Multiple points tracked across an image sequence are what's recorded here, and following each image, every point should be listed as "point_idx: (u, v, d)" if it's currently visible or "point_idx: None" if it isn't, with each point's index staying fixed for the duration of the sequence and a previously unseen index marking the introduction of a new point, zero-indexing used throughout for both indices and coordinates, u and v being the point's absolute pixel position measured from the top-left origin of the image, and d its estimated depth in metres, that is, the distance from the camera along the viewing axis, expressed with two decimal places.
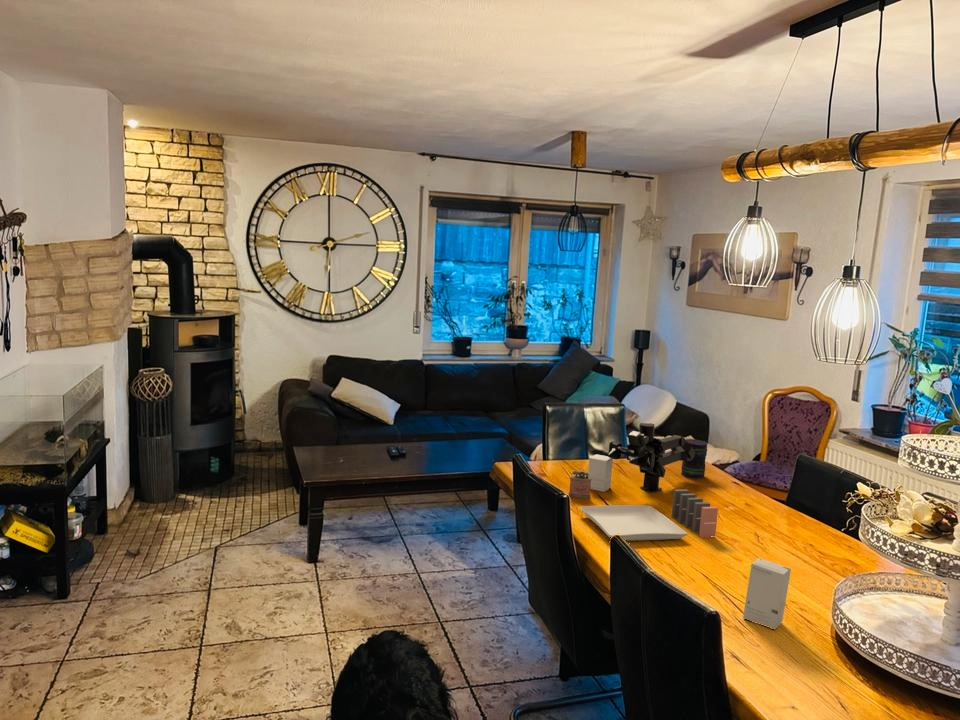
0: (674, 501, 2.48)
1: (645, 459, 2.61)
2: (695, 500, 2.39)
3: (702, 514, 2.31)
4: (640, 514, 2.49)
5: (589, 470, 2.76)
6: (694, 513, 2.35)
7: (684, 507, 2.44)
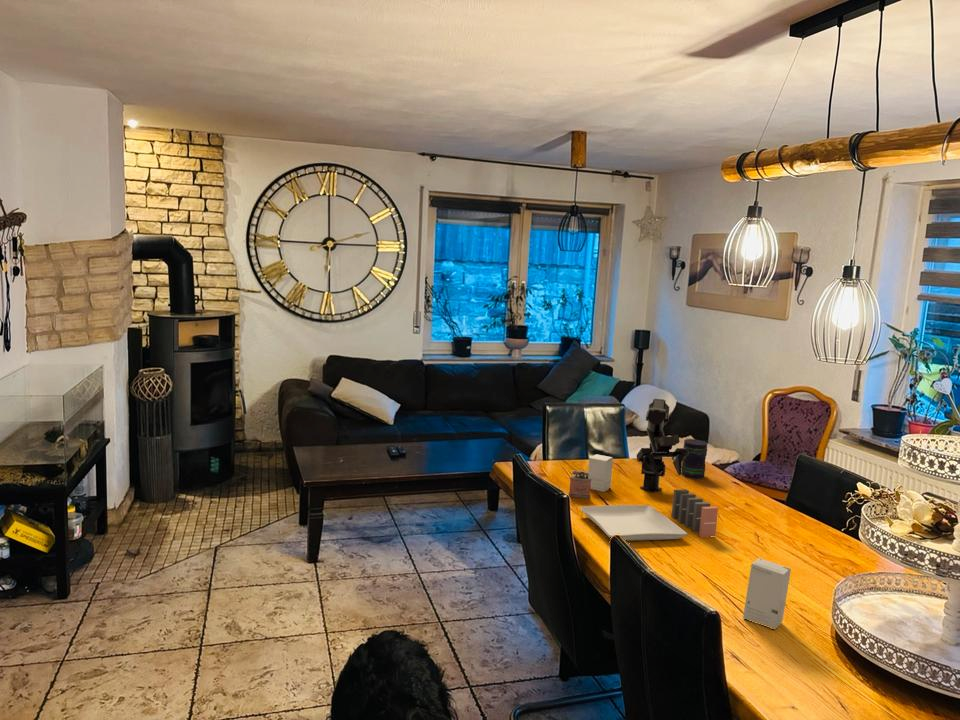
0: (674, 501, 2.48)
1: None
2: (695, 500, 2.39)
3: (702, 514, 2.31)
4: (640, 514, 2.49)
5: (589, 470, 2.76)
6: (694, 513, 2.35)
7: (684, 507, 2.44)
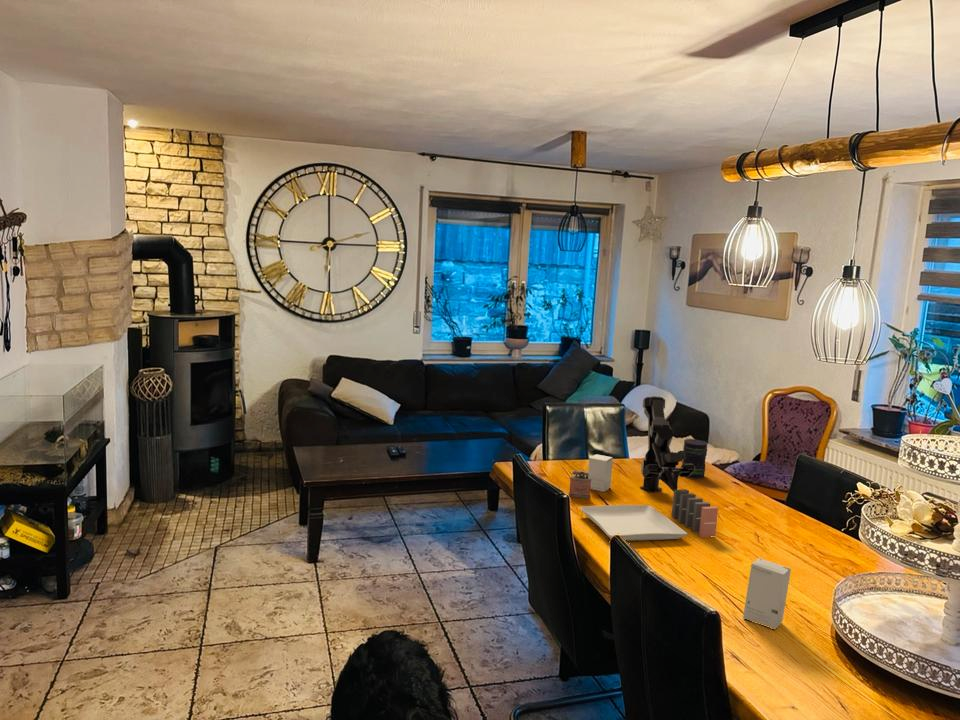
0: (674, 501, 2.48)
1: None
2: (695, 500, 2.39)
3: (702, 514, 2.31)
4: (640, 514, 2.49)
5: (589, 470, 2.76)
6: (694, 513, 2.35)
7: (684, 507, 2.44)
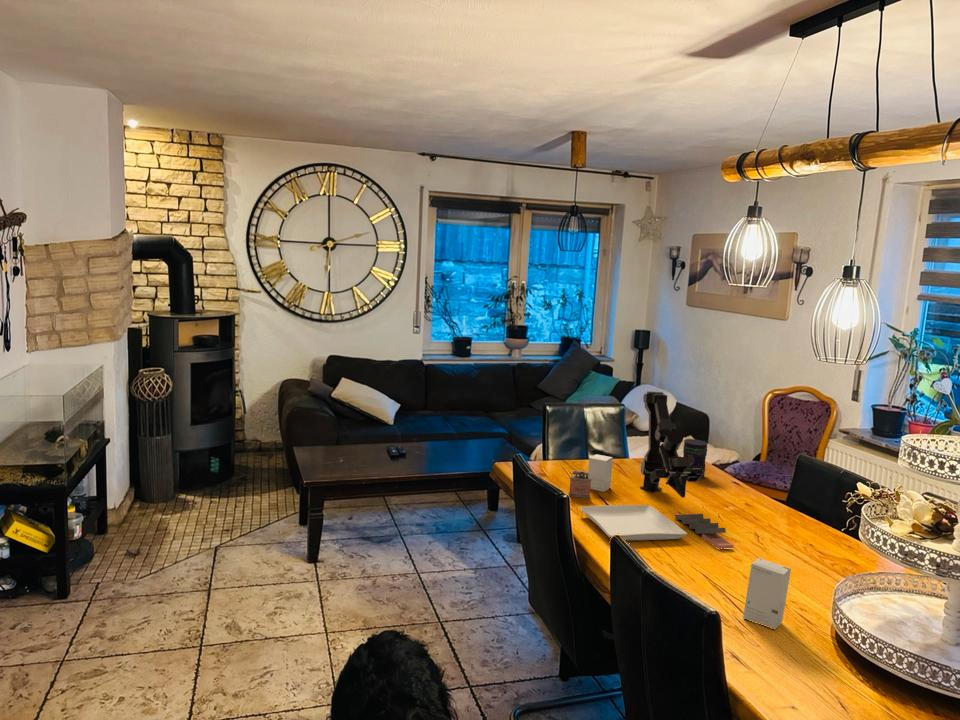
0: (684, 517, 2.42)
1: None
2: None
3: (714, 544, 2.23)
4: (640, 514, 2.49)
5: (589, 470, 2.76)
6: (705, 530, 2.29)
7: None
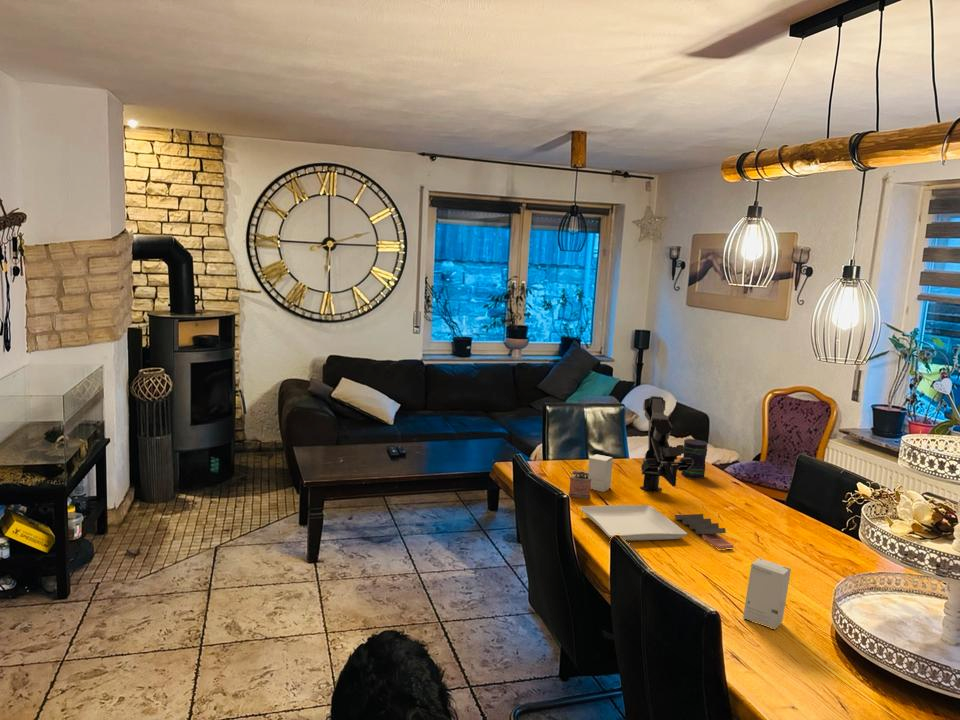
0: (684, 517, 2.42)
1: None
2: None
3: (714, 545, 2.23)
4: (640, 514, 2.49)
5: (589, 470, 2.76)
6: (705, 530, 2.28)
7: None
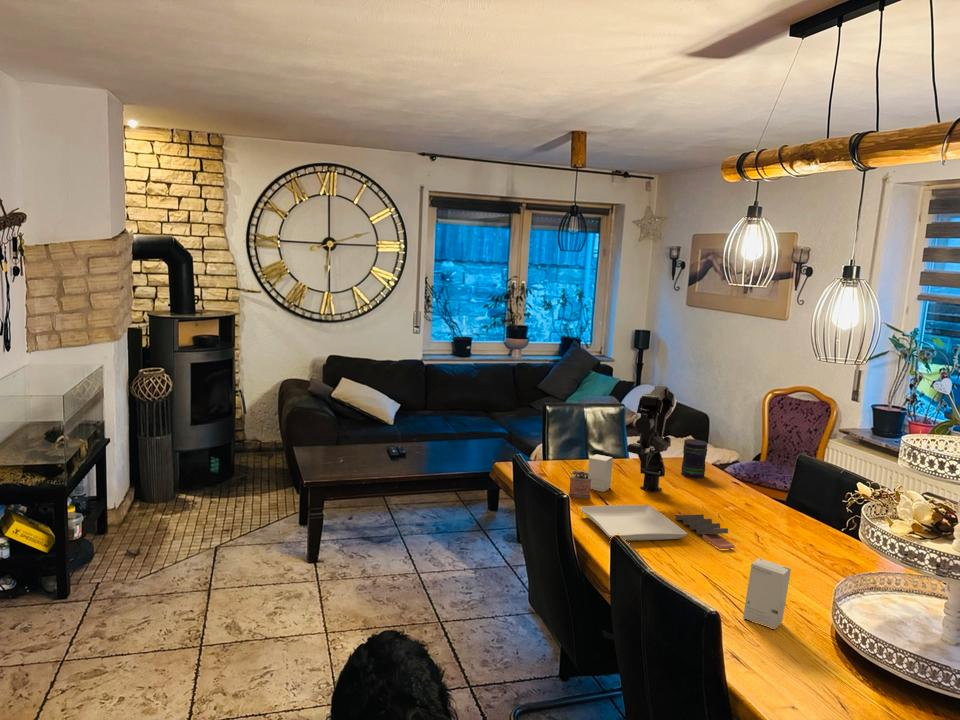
0: (684, 518, 2.41)
1: None
2: (712, 528, 2.30)
3: (716, 545, 2.23)
4: (640, 514, 2.49)
5: (589, 470, 2.76)
6: (708, 531, 2.28)
7: None
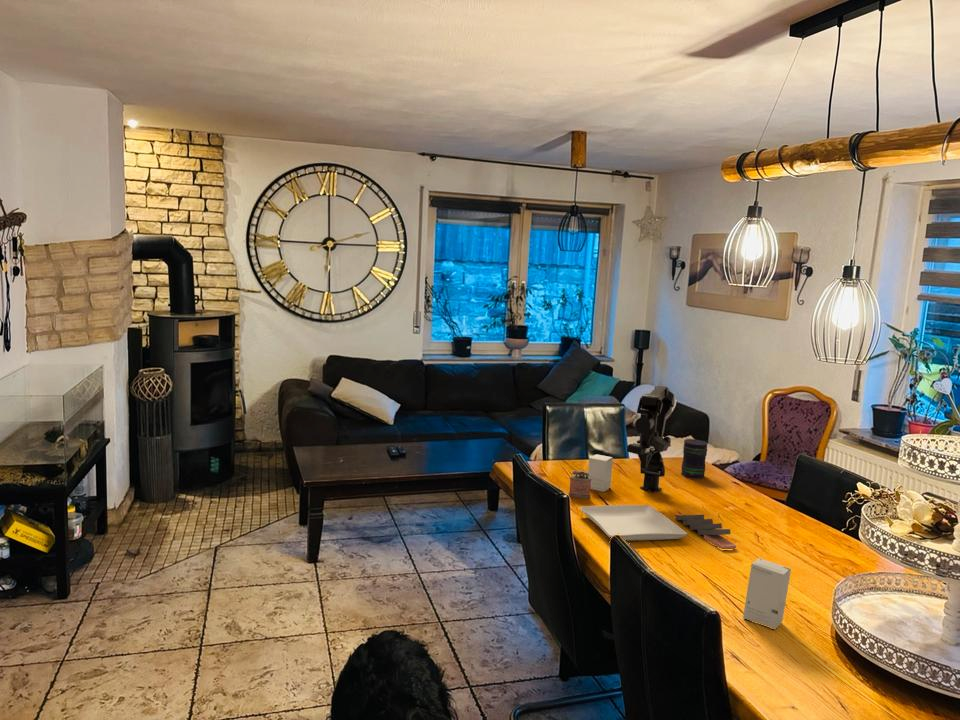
0: (685, 518, 2.41)
1: None
2: (714, 528, 2.30)
3: (718, 546, 2.23)
4: (640, 514, 2.49)
5: (589, 470, 2.76)
6: (710, 532, 2.28)
7: None
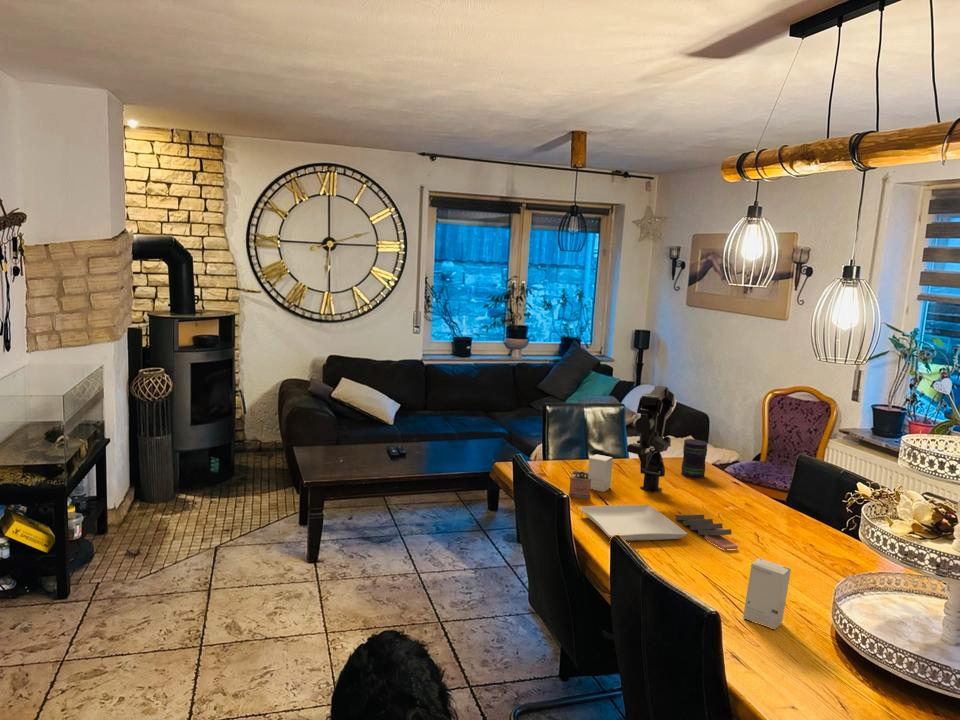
0: (685, 518, 2.41)
1: None
2: (715, 528, 2.29)
3: (719, 546, 2.23)
4: (640, 514, 2.49)
5: (589, 470, 2.76)
6: (711, 532, 2.28)
7: None
